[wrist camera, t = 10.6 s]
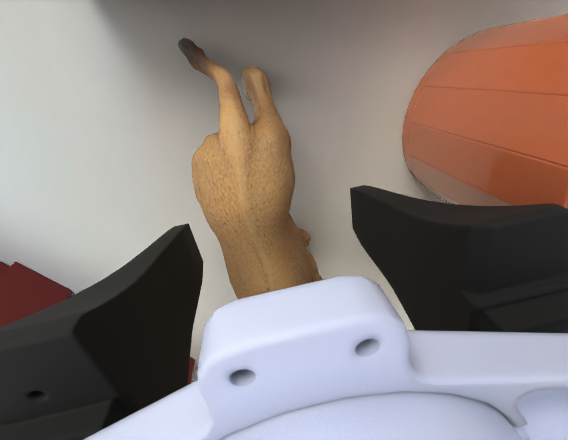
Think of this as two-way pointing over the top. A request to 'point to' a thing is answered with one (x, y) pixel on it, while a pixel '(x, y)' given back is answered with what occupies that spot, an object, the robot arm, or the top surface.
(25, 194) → the top surface
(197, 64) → the lion figurine
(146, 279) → the robot arm
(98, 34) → the top surface
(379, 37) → the top surface
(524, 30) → the cup
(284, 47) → the top surface
